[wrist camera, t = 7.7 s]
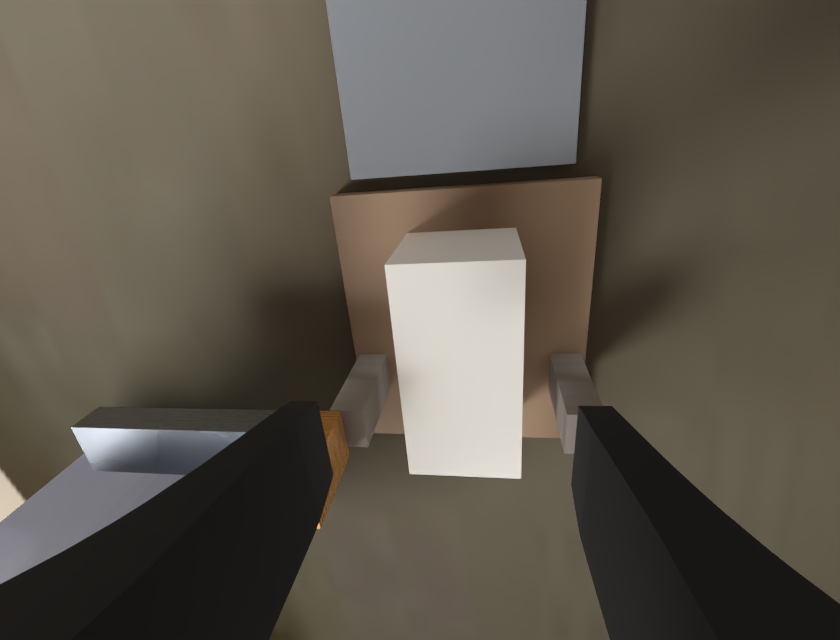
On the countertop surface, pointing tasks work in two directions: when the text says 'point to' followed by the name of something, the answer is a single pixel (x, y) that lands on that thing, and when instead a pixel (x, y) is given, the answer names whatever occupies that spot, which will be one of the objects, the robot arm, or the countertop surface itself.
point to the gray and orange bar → (183, 439)
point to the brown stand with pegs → (544, 292)
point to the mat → (457, 83)
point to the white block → (460, 349)
